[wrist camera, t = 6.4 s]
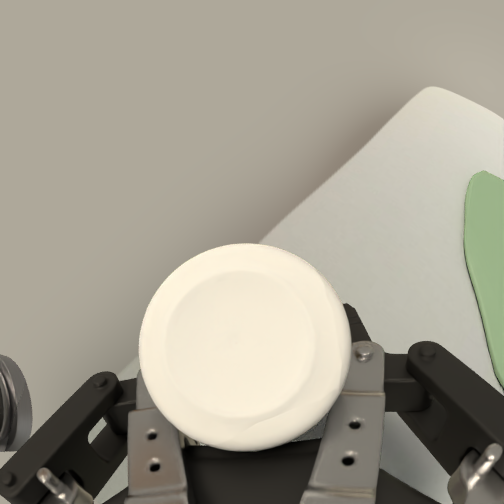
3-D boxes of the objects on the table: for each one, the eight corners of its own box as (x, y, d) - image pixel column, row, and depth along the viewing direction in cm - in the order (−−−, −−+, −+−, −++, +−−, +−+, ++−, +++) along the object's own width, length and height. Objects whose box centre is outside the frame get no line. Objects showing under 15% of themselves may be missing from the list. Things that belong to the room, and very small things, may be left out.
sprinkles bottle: (248, 331, 19) (168, 223, 7) (318, 344, 18) (368, 252, 6) (231, 399, 17) (109, 412, 5) (303, 414, 16) (328, 476, 4)
